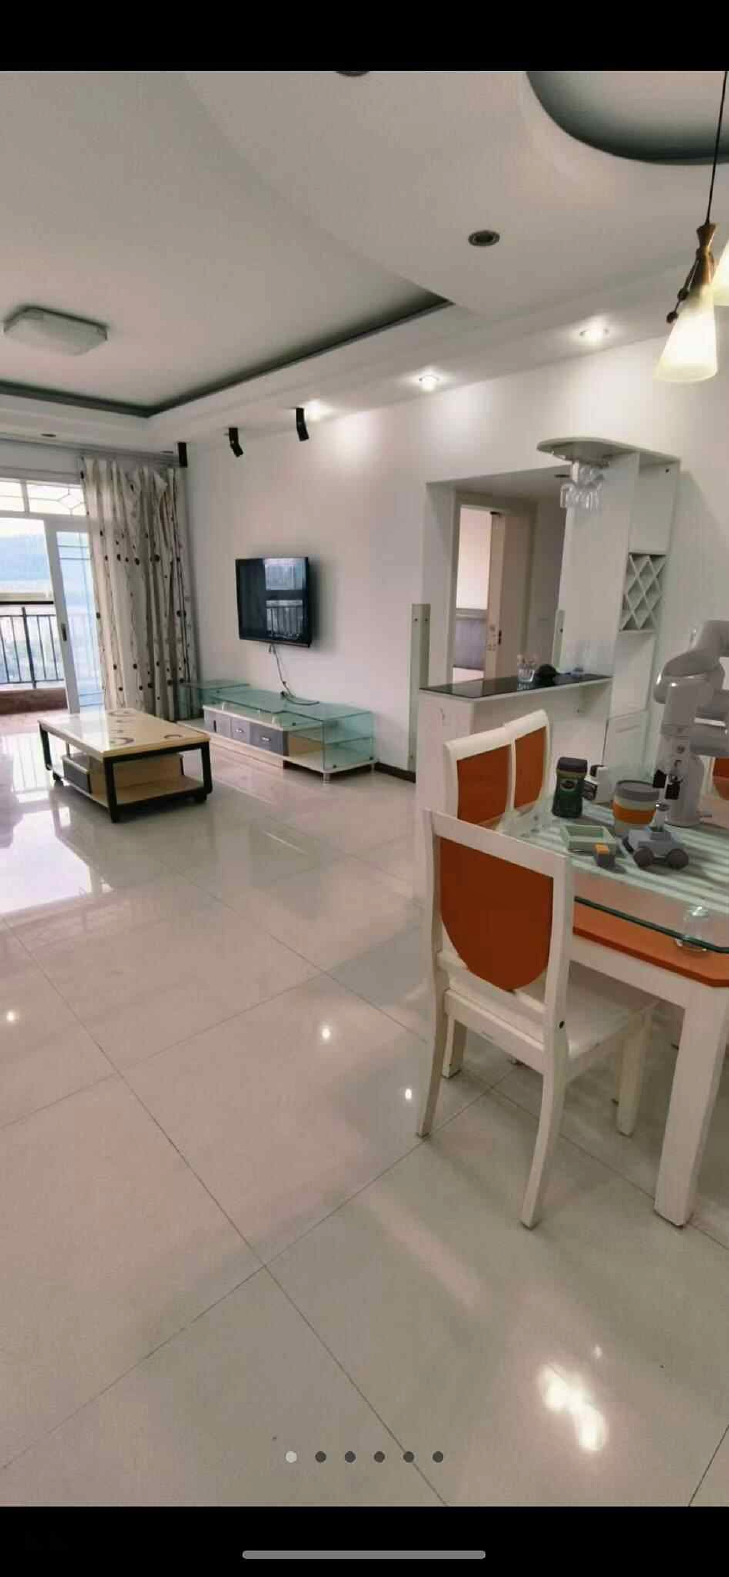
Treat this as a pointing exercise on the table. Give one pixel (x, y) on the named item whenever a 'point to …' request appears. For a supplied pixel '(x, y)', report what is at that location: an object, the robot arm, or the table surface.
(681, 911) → the table surface
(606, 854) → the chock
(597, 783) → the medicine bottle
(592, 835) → the tray
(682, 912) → the table surface
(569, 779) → the coffee jar
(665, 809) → the pin
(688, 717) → the robot arm
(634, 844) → the toy car
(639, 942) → the table surface
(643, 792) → the reusable coffee cup
